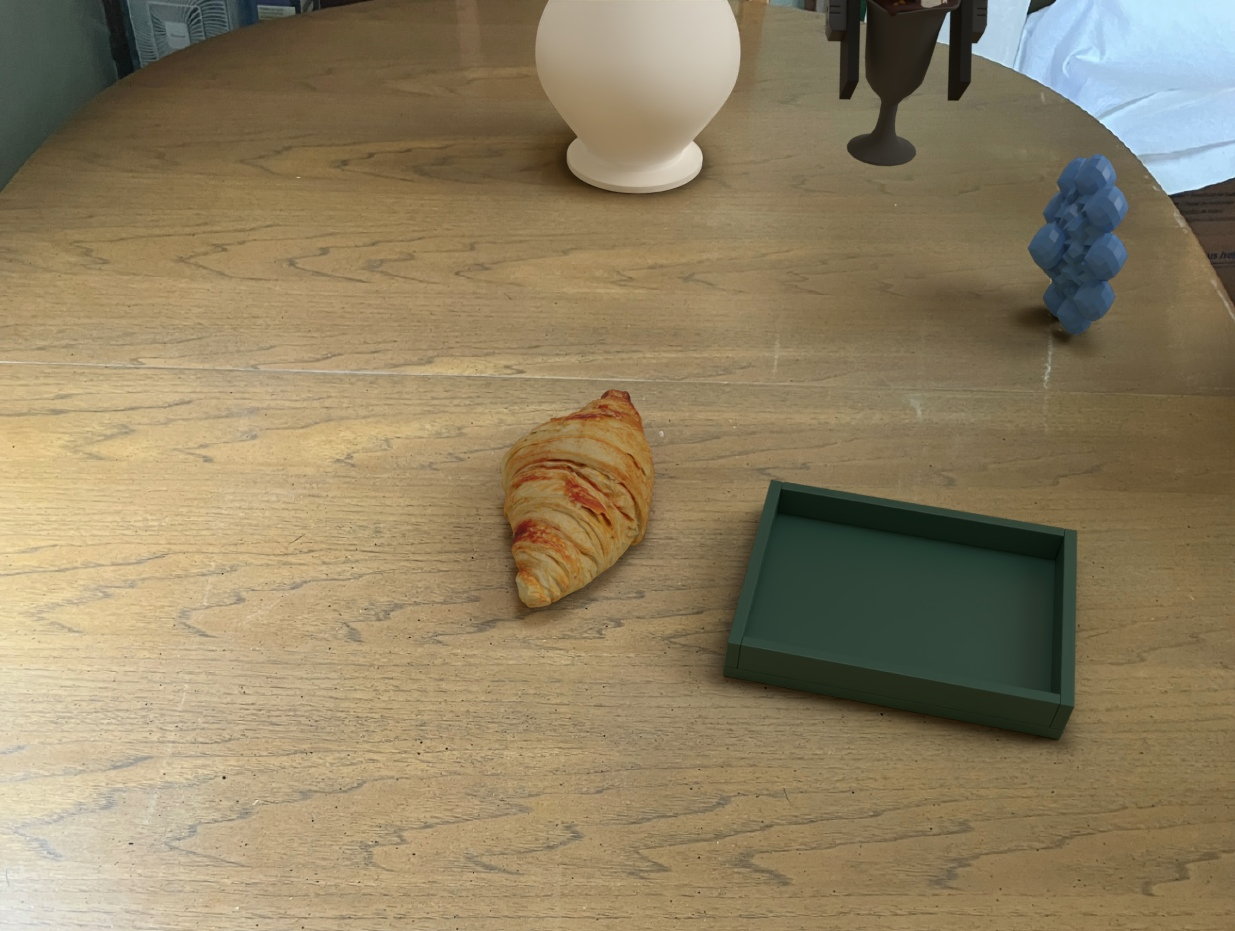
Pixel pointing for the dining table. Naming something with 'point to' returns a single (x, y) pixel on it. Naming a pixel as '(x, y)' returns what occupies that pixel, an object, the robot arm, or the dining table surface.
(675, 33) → the decorative vase
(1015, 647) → the tray
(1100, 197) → the grapes
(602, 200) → the dining table surface
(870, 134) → the sundae
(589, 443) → the croissant
